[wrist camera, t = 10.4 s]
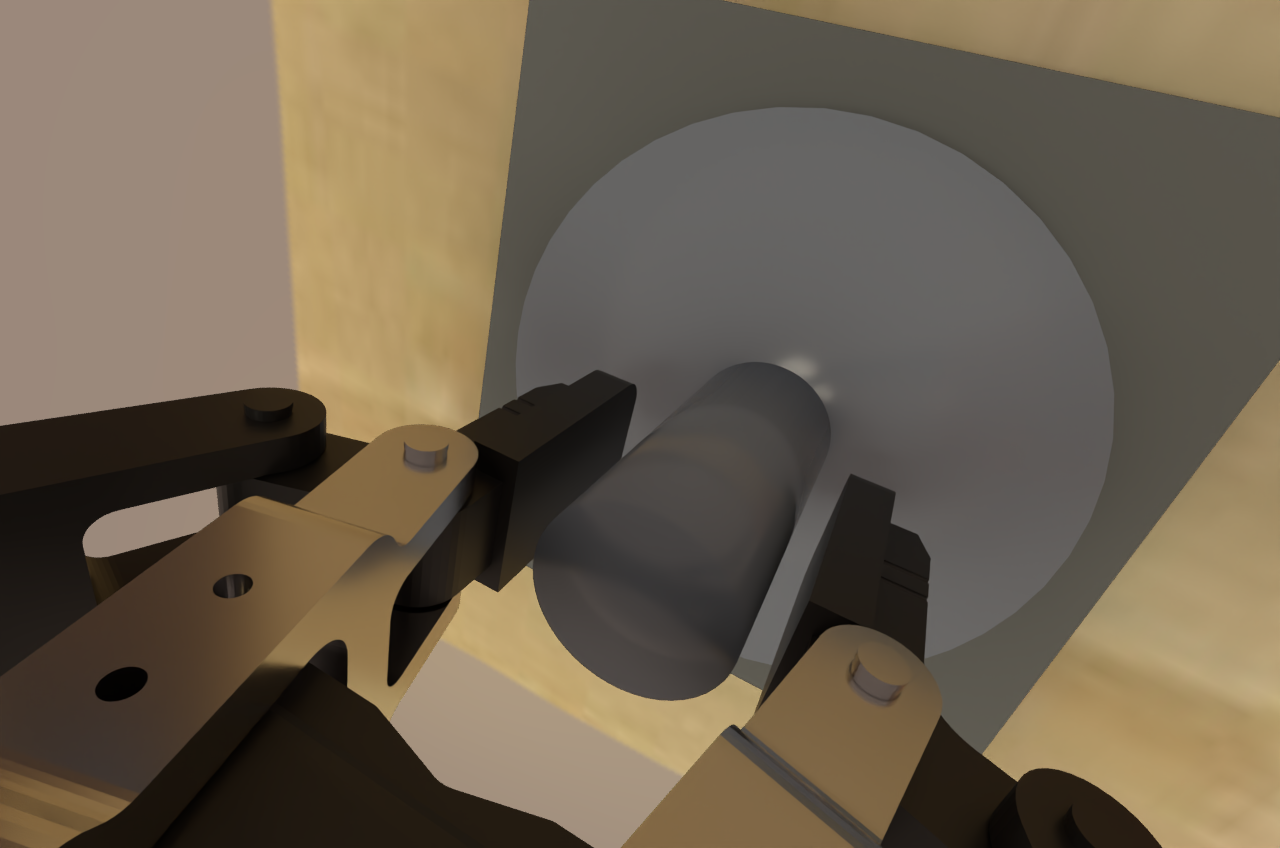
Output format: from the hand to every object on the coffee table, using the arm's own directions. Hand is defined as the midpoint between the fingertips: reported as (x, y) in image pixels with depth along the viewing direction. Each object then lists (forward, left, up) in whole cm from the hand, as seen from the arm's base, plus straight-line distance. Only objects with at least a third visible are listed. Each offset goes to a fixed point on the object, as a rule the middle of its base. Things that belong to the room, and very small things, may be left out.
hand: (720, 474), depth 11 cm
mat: (0, 0, -4) cm, 4 cm away
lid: (0, 0, -3) cm, 3 cm away
